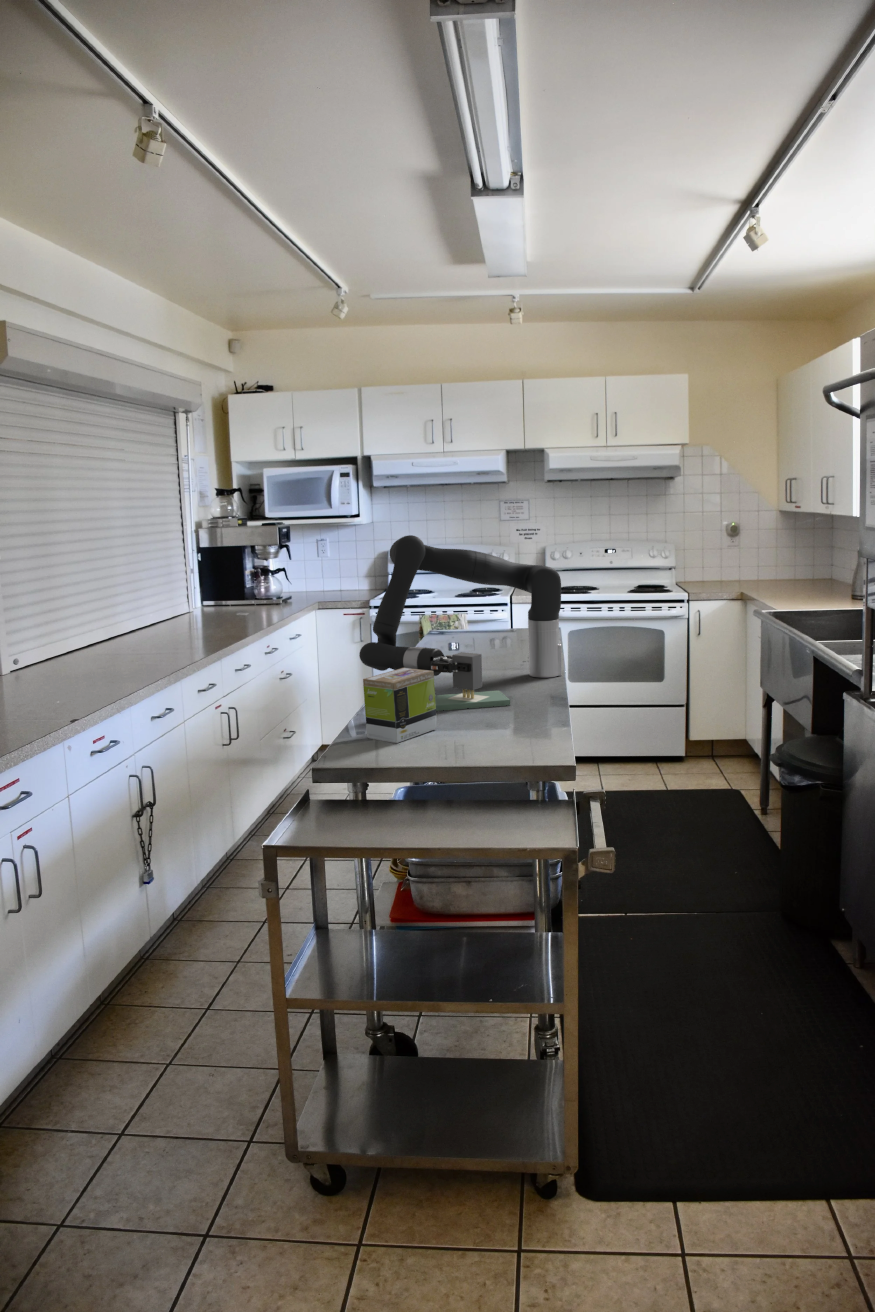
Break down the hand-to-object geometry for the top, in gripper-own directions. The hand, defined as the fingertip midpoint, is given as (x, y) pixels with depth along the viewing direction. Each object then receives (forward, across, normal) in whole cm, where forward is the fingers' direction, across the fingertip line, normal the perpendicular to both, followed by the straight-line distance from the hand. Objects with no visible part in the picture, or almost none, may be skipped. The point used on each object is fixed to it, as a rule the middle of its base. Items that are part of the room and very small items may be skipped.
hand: (475, 666), depth 250 cm
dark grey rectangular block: (-3, 0, +6) cm, 7 cm away
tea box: (0, -34, +11) cm, 36 cm away
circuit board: (-3, 0, +10) cm, 11 cm away
